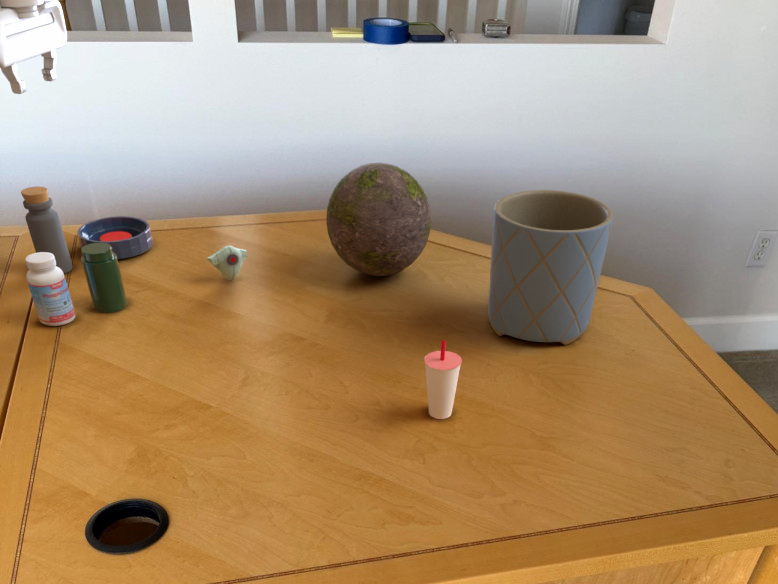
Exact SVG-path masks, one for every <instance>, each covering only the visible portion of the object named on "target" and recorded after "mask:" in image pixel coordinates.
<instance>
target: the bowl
mask: <svg viewBox="0 0 778 584" xmlns="http://www.w3.org/2000/svg"><path fill="white" fill-rule="evenodd" d="M116 231H123V232H128V233H130V234H131V236H132V238H129V239H124V240H118V241H100V237H101V236H102V235H104V234H106V233H109V232H116ZM76 235H77V239H78V242H79V246H80V250H81V249H82V248H83V247H84V246H86V245H88V244H92V243H107V244H109V245H111V248H112V252H114V253H115V254H116V256H117V260H122V259H127V258H133V257H136V256H139V255H142V254H144V253H146V252H147V251H149V250H150V249H151V248H152V247H153V246H154V240H153V233H152V230H151V225H150V223H149V222H148V221H147V220H145V219H142V218H140V217H135V216H129V215H127V216H124V215H119V216H117V215H116V216H107V217H100V218H97V219H93V220H91V221H88V222H86V223H84V224H82V225H81V226H80V227H79V228H78V229H77V232H76Z"/></svg>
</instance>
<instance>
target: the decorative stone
mask: <svg viewBox="0 0 778 584" xmlns="http://www.w3.org/2000/svg"><path fill="white" fill-rule="evenodd" d="M325 220H326V221H325V222H326V230H327V235H328V238H329V240H330V244H331V245H332V247H333V249H334V251H335V252H336V254H337V255H338V257H339V258H340V259H341V260H342V261H343V262H344V263H345V264H346V265H347V266H349V267H350V268H352V269H353V270H355V271H356V272H358V273H361V274H365V275H367V276H373V277H387V276H391V275H395V274H397V273H400V272H403V271H404V270H405V269H406V268H408V267H410V266H411V265H412V264H413V263H415V261H417V260H418V258H420V256H421V255H422V253H423V251H424V249H425V248H426V245H427V243H428V241H429V237H430V235H431V228H432V210H431V206H430V203H429V200H428V196H427V194H426V193H425V190H424V188H423V187H422V186H421V185H420V183H419V182H418V181H417V179H416V178H415V177H414V176H413V175H412V174H411V173H409V172H408V171H406V170H405V169H404V168H401V167H399V166H397V165H395V164H390V163H387V162H370V163H365V164H362V165H360V166H358V167H356V168H354V169H351V170H350V171H349V172H348V173H347V174H345V175H344V176H343V177H341V178H340V180H339V181H338V183H337V184H336V186H335V187H334V188H333V190H332V192H331V195H330V197H329V199H328V203H327V208H326V219H325Z"/></svg>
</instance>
